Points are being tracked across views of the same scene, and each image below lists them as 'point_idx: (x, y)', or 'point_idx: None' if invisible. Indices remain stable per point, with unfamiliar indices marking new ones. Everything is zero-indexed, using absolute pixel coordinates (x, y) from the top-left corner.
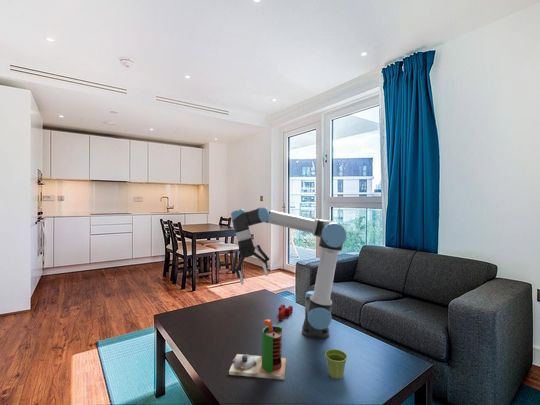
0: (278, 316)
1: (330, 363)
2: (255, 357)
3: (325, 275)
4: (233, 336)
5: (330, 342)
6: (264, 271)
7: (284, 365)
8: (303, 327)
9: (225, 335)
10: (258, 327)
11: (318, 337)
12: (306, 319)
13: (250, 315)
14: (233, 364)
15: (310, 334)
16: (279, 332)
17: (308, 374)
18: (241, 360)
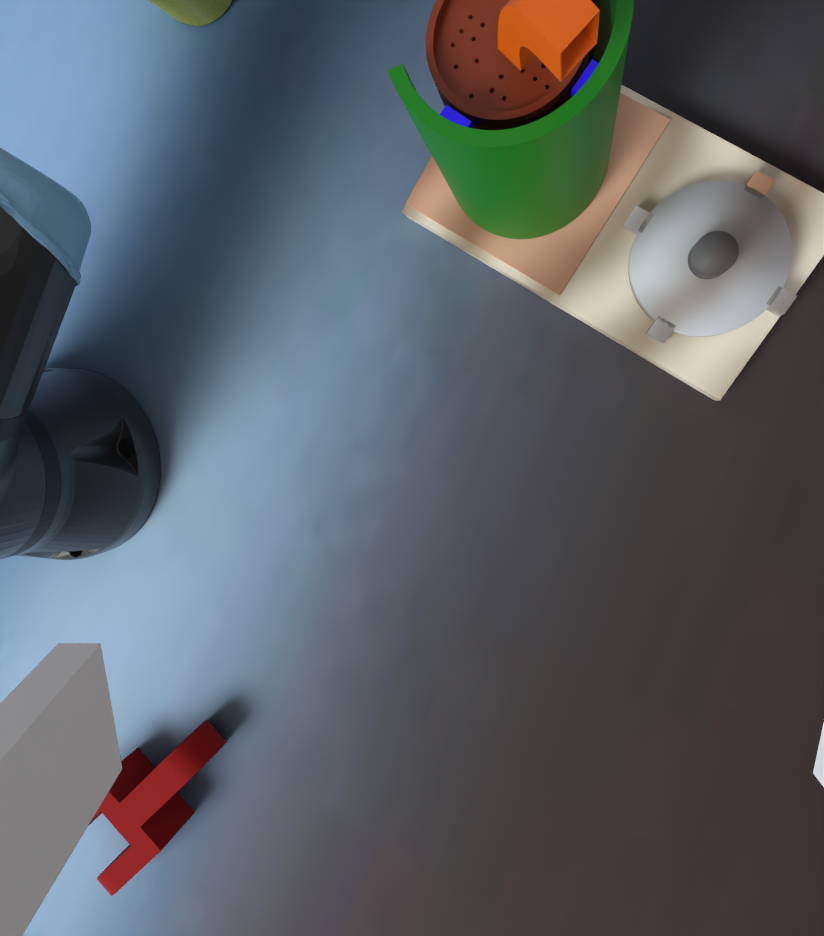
0: (215, 749)
1: None
2: (602, 301)
3: None
4: (637, 685)
5: None
6: (55, 842)
7: None
8: (127, 489)
9: (693, 730)
10: (406, 717)
11: (94, 374)
12: (64, 479)
13: (392, 925)
14: (792, 279)
15: (124, 409)
16: (434, 57)
17: (345, 37)
18: (732, 270)
